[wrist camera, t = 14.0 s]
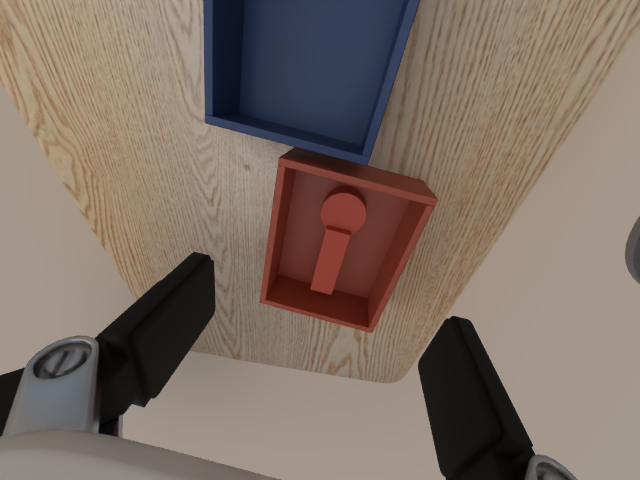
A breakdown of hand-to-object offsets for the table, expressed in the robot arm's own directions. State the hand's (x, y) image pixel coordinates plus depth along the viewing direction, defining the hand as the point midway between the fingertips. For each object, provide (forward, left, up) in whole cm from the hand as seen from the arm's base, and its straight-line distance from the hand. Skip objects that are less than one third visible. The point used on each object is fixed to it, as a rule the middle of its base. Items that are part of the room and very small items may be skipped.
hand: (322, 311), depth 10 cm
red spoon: (-3, +4, -16) cm, 16 cm away
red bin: (-3, +4, -16) cm, 17 cm away
